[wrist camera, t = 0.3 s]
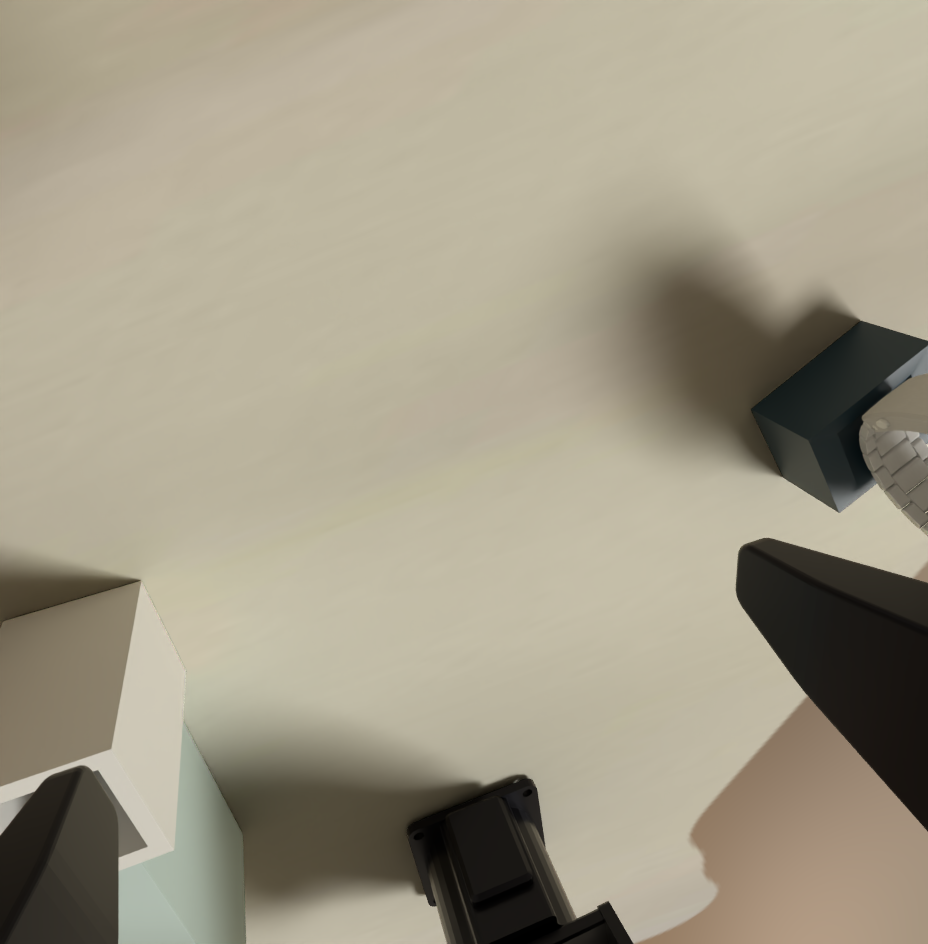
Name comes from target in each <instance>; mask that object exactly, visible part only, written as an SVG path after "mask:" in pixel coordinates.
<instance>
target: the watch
mask: <svg viewBox="0 0 928 944" xmlns="http://www.w3.org/2000/svg"><path fill="white" fill-rule="evenodd" d="M751 411H752V413H753V415H754V417H755V419H756V421H757V423H758V426H759V428H760V430H761V432H762V434H763V436H764V438H765V440H766V442H767V444H768V446H769V449H770V451H771V453H772V455H773V457H774V459H775V461H776V463H777V465H778V467H779V469H780V472H781V474H782V476H783V478H785V479H786V480H788V481H789V482H791V483H793V484H794V485H796V486H797V487H799V488H800V489H802V490H804V491H805V492H807V493H808V494H810V495H812V496H813V497H815V498H816V499H818V500H820V501H821V502H823V503H824V504H826V505H828V506H829V507H831V508H832V509H834V510H836V511H837V512H839V513H840V512H841V511H842V510H844V509H845V508H846V507H848V506H849V505H850V504H851V503H853V502H854V501H855V500H856V499H858V498H859V497H860V496H862V495H863V494H864V493H865V492H867V491H868V490H869V489H870V488H872V487H873V486H874V485H876V484H878V485H879V487H880V488H881V489H882V490H884V492H885V494H886V495H887V496H888V498H889V499H890V500H891V501H892V502H893V504H894V505H895V506H896V507H897V508H898V509H902V508H903V507H904V506H905V505H907V504H908V503H909V504H908V505H907V506H906V507H904V508H903V509H902V510H901V512H902V513H903V514H904V515H905V516H906V517H907V518H908V519H909V520H910V521H911V522H912V523H913V524H914V525H915V526H916V527H917V528H921V527H922V526H924V525H925V524H926V523H927V522H928V512H927V513H926V514H925V512H926V511H928V447H927V445H926V444H928V341H926V340H923V339H920V338H916V337H913V336H910V335H906V334H903V333H900V332H897V331H893V330H890V329H887V328H883V327H880V326H877V325H874V324H870V323H867V322H864V321H860V322H859V323H858V324H857V325H855V326H854V327H853V328H852V329H850V330H849V331H848V332H847V333H845V334H844V335H843V336H842V337H840V338H839V339H838V340H837V341H835V342H834V343H833V344H832V345H830V346H829V347H828V348H827V349H825V350H824V351H823V352H822V353H821V354H819V355H818V356H817V357H816V358H814V359H813V360H812V361H811V362H809V363H808V364H807V365H806V366H804V367H803V368H802V369H801V370H799V371H798V372H797V373H796V374H794V375H793V376H792V377H791V378H789V379H788V380H787V381H786V382H784V383H783V384H782V385H781V386H779V387H778V388H777V389H776V390H774V391H773V392H772V393H771V394H769V395H768V396H767V397H766V398H764V399H763V400H762V401H761V402H759V403H758V404H757V405H756V406H754V407H753V408H752V409H751ZM925 478H926V479H925ZM924 479H925V480H924ZM923 480H924V481H923ZM920 482H921V483H920ZM919 483H920V484H919ZM918 484H919V485H918ZM916 485H917V486H916ZM915 486H916V487H915ZM914 487H915V488H914ZM911 489H912V490H911ZM910 490H911V491H910ZM909 491H910V492H909ZM907 492H908V493H907ZM906 493H907V494H906ZM921 530H922V531H923V532H924V533H925V534H926V535H927V536H928V523H927V524H926V525H925V526H924V527H922V528H921Z"/></svg>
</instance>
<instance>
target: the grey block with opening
mask: <svg viewBox="0 0 928 944" xmlns="http://www.w3.org/2000/svg"><path fill="white" fill-rule="evenodd" d="M185 683H186V670H185V668H184V666H183V664H182V662H181V660H180V658H179V656H178V654H177V652H176V650H175V648H174V646H173V644H172V642H171V640H170V637H169V635H168V633H167V631H166V629H165V627H164V625H163V623H162V621H161V619H160V617H159V615H158V613H157V611H156V609H155V607H154V605H153V603H152V601H151V599H150V597H149V595H148V593H147V591H146V589H145V587H144V585H143V583H142V581H139V582H135V583H132V584H128V585H125V586H122V587H118V588H115V589H111V590H108V591H105V592H101V593H98V594H94V595H91V596H88V597H84V598H81V599H77V600H74V601H71V602H67V603H64V604H60V605H57V606H54V607H50V608H47V609H43V610H40V611H36V612H33V613H30V614H26V615H23V616H19V617H16V618H13V619H9V620H6V621H3V623H2V625H1V628H0V835H1V834H2V833H3V831H4V830H5V829H6V827H7V826H8V825H9V824H10V822H11V821H12V820H13V819H14V817H15V816H16V815H17V814H18V812H19V811H20V810H21V808H22V807H23V806H24V805H25V803H26V802H27V801H28V800H29V798H30V797H31V796H32V794H33V793H34V792H35V791H36V789H37V788H38V787H39V786H40V784H41V783H42V782H43V781H44V780H45V779H46V778H47V777H48V776H50V775H52V774H55V773H58V772H61V771H64V770H67V769H70V768H73V767H76V766H79V765H85V766H87V767H89V768H90V769H91V770H92V771H93V773H94V774H95V776H96V777H97V779H98V781H99V782H100V784H101V785H102V787H103V789H104V790H105V792H106V794H107V795H108V797H109V798H110V800H111V802H112V803H113V805H114V807H115V810H116V813H117V817H118V826H119V936H118V944H246V926H245V891H244V856H243V834H242V832H241V830H240V828H239V826H238V824H237V822H236V820H235V818H234V817H233V815H232V813H231V811H230V809H229V807H228V805H227V803H226V801H225V799H224V797H223V796H222V794H221V792H220V790H219V788H218V786H217V784H216V782H215V780H214V778H213V776H212V774H211V773H210V771H209V769H208V767H207V765H206V763H205V761H204V759H203V757H202V755H201V753H200V751H199V750H198V748H197V746H196V744H195V742H194V740H193V738H192V736H191V734H190V732H189V730H188V729H187V727H186V725H185V723H184V721H183V713H184V698H185Z"/></svg>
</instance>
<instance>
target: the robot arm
mask: <svg viewBox="0 0 928 944" xmlns="http://www.w3.org/2000/svg"><path fill="white" fill-rule="evenodd" d="M736 594H737V598H738V600H739V602H740V604H741V606H742V608H743V609H744V610H745V612H746V613H747V614H748V616H749V617H750V619H751V620H752V621H753V623H754V624H755V625H756V627H757V628H758V630H759V631H760V632H761V634H762V635H763V636H764V638H765V639H766V641H767V642H768V643H769V645H770V646H771V648H772V649H773V650H774V652H775V653H776V654H777V656H778V657H779V659H780V660H781V661H782V663H783V664H784V665H785V667H786V668H787V670H788V671H789V672H790V674H791V675H792V676H793V678H794V679H795V680H796V682H797V683H798V684H799V685H800V687H801V688H802V689H803V691H804V692H805V693H806V694H807V695H808V696H809V698H810V699H811V700H812V701H813V702H814V704H816V706H817V707H818V708H819V709H820V710H821V711H822V712H823V714H824V715H825V716H826V717H827V718H828V719H829V720H830V722H831V723H832V724H833V725H834V726H835V727H836V728H837V729H838V730H839V732H840V733H841V734H842V735H843V736H844V737H845V739H846V740H847V741H848V742H849V743H850V744H851V745H852V746H853V748H854V749H856V751H857V752H858V753H859V754H860V755H861V757H862V758H863V759H864V760H865V761H866V762H867V763H868V764H869V765H870V767H871V768H872V769H873V770H874V771H875V772H876V773H877V775H878V776H879V777H880V778H881V779H882V780H883V781H884V782H885V784H886V785H887V786H888V787H889V788H890V789H891V790H892V791H893V793H894V794H895V795H896V796H897V797H898V798H899V799H900V801H901V802H902V803H903V804H904V805H905V806H906V807H907V808H908V809H909V811H910V812H911V813H912V814H913V815H914V816H915V817H916V819H917V820H918V821H919V822H920V823H921V824H922V825H923V826H924V828H925V829H926V830H927V831H928V583H927V582H923V581H920V580H916V579H912V578H909V577H905V576H902V575H898V574H895V573H891V572H888V571H884V570H881V569H877V568H874V567H870V566H867V565H863V564H860V563H856V562H852V561H849V560H845V559H842V558H838V557H835V556H831V555H828V554H824V553H821V552H817V551H814V550H810V549H807V548H803V547H800V546H796V545H793V544H789V543H785V542H782V541H778V540H775V539H771V538H763V539H759V540H756V541H753V542H750V543H747V544H745V545H743V546H742V547H741V548H740V550H739V552H738V563H737V577H736ZM407 836H408V840H409V843H410V846H411V850H412V853H413V856H414V859H415V862H416V865H417V869H418V872H419V875H420V878H421V881H422V884H423V888H424V891H425V894H426V897H427V900H428V903H429V905H430V906H437V909H438V913H439V916H440V920H441V924H442V927H443V931H444V934H445V938H446V942H447V944H633V942H632V941H631V939H630V937H629V936H628V934H627V932H626V930H625V929H624V927H623V925H622V923H621V922H620V920H619V918H618V917H617V915H616V913H615V911H614V910H613V908H612V906H611V904H610V903H609V901H607V902H605V903H603V904H601V905H599V906H597V908H598V909H596V910H594V911H592V912H590V913H588V914H586V915H584V916H582V917H579V918H576V916H575V914H574V911H573V909H572V907H571V905H570V902H569V900H568V898H567V896H566V893H565V891H564V889H563V887H562V885H561V882H560V880H559V878H558V876H557V873H556V871H555V869H554V867H553V864H552V862H551V860H550V858H549V855H548V853H547V851H546V848H545V841H544V834H543V827H542V820H541V813H540V806H539V799H538V792H537V788H536V786H535V784H534V782H533V780H531V779H524V780H521V781H519V782H516V783H514V784H511V785H509V786H506V787H504V788H501V789H498V790H496V791H493V792H491V793H488V794H486V795H483V796H481V797H478V798H476V799H473V800H471V801H468V802H465V803H463V804H460V805H458V806H455V807H453V808H450V809H448V810H445V811H443V812H440V813H438V814H435V815H432V816H430V817H427V818H425V819H422V820H420V821H417V822H415V823H413V824H411V825H410V826H409V827H408V828H407ZM118 936H119V826H118V817H117V813H116V810H115V807H114V805H113V803H112V802H111V800H110V798H109V797H108V795H107V794H106V792H105V790H104V789H103V787H102V785H101V784H100V782H99V781H98V779H97V777H96V776H95V774H94V773H93V771H92V770H91V769H90V768H89V767H87V766H85V765H79V766H76V767H73V768H70V769H67V770H64V771H61V772H58V773H55V774H52V775H50V776H48V777H47V778H46V779H45V780H44V781H43V782H42V783H41V784H40V786H39V787H38V788H37V789H36V791H35V792H34V793H33V794H32V796H31V797H30V798H29V800H28V801H27V802H26V803H25V805H24V806H23V807H22V808H21V810H20V811H19V812H18V814H17V815H16V816H15V817H14V819H13V820H12V821H11V822H10V824H9V825H8V826H7V827H6V829H5V830H4V831H3V833H2V834H1V835H0V944H118Z"/></svg>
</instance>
